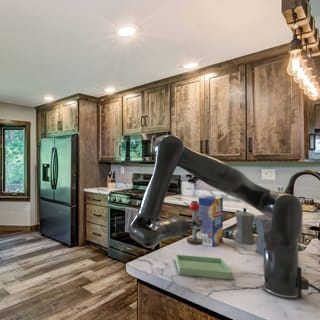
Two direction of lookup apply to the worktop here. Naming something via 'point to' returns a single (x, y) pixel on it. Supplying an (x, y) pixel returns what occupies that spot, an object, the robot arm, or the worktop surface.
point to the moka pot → (261, 231)
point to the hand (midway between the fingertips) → (198, 221)
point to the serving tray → (203, 267)
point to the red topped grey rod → (194, 240)
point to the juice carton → (211, 220)
